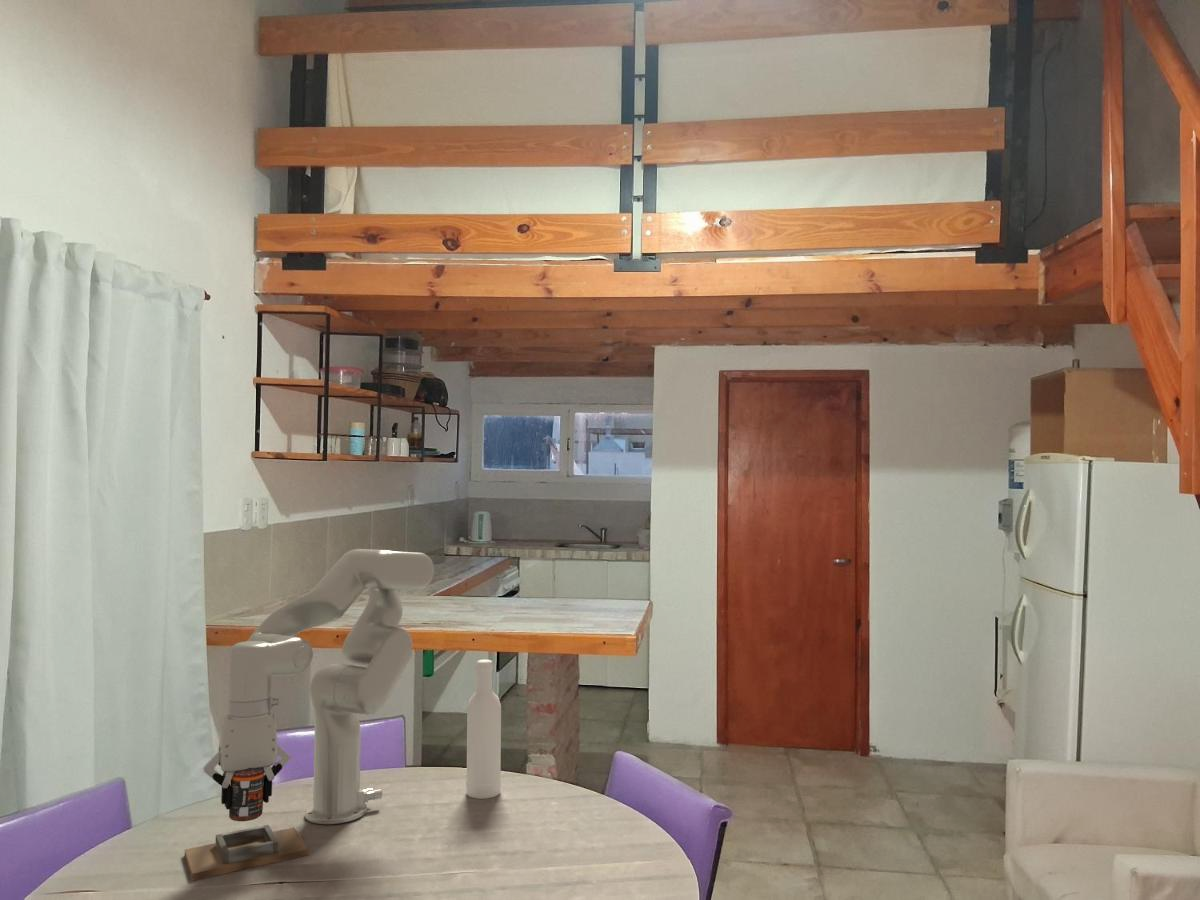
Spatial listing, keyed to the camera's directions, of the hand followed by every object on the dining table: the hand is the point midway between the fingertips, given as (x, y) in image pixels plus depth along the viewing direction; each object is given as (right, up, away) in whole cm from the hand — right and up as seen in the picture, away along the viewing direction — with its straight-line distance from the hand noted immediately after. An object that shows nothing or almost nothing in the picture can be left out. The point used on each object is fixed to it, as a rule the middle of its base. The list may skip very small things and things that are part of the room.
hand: (246, 802), depth 161 cm
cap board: (0, -10, 0) cm, 10 cm away
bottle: (+41, -12, +33) cm, 54 cm away
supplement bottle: (0, -3, 0) cm, 3 cm away
